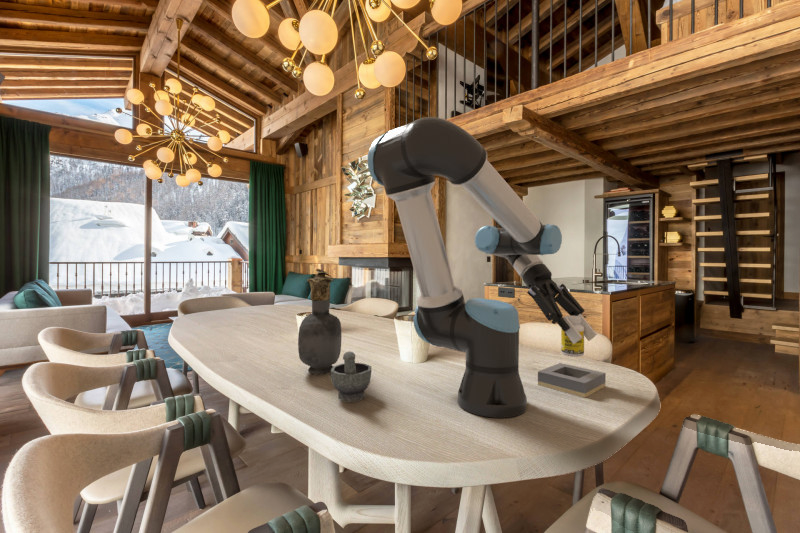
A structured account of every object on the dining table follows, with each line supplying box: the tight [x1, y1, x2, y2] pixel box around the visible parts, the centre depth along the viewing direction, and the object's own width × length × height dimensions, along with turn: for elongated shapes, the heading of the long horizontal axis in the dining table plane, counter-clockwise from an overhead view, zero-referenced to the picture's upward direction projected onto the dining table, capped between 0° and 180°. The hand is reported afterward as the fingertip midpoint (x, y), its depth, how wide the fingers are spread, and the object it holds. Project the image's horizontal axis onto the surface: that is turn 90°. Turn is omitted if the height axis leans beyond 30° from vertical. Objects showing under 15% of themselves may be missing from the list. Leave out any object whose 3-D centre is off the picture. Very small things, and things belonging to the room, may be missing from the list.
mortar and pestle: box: [330, 351, 372, 403], centre depth 89 cm, size 11×9×12 cm
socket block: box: [537, 362, 607, 399], centre depth 97 cm, size 12×12×4 cm
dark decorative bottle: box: [297, 268, 342, 376], centre depth 112 cm, size 11×19×30 cm, turn 0°
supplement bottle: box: [560, 315, 585, 358], centre depth 97 cm, size 5×5×10 cm
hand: (585, 338), depth 94 cm, fingers closed on supplement bottle, 5 cm apart
